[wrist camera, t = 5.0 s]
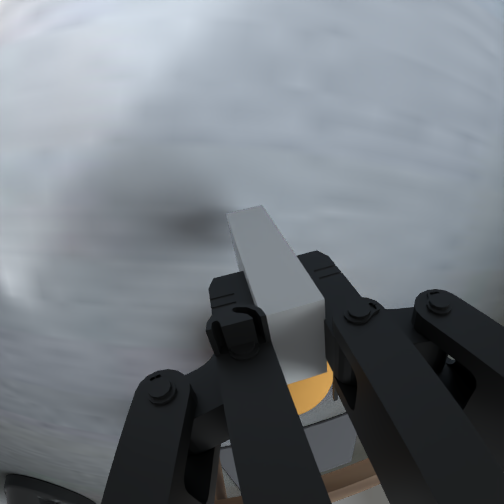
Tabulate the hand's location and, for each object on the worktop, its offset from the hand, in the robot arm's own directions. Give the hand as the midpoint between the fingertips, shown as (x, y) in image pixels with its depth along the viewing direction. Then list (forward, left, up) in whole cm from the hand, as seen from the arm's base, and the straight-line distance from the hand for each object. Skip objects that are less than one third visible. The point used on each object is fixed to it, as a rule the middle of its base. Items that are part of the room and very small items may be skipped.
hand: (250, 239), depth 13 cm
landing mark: (0, -27, -2) cm, 27 cm away
